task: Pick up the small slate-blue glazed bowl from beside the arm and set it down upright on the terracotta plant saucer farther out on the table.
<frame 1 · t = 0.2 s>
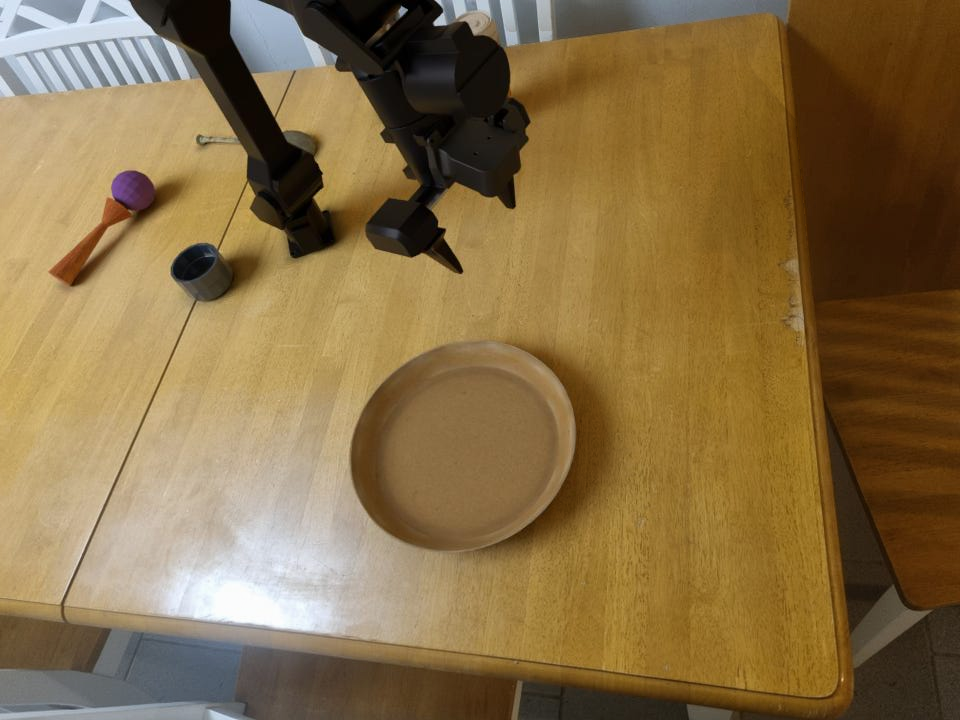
hand: (486, 239, 73), 15 cm above the table, tool pointing down, fingers open, 9 cm apart
wine glass: (403, 106, 112), on the table
bowl: (211, 283, 101), on the table
beer can: (495, 117, 106), on the table
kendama: (114, 238, 111), on the table
soupspoon: (256, 150, 115), on the table
plant saucer: (466, 451, 78), on the table
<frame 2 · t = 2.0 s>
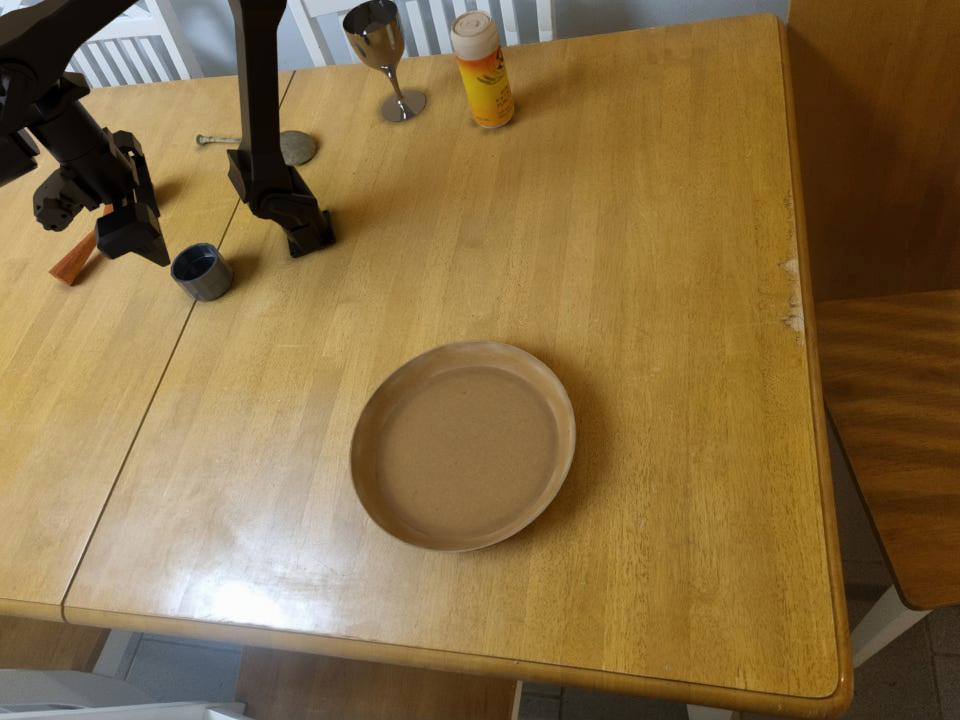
hand: (161, 240, 90), 11 cm above the table, tool pointing down, fingers open, 9 cm apart
nothing on the table moved.
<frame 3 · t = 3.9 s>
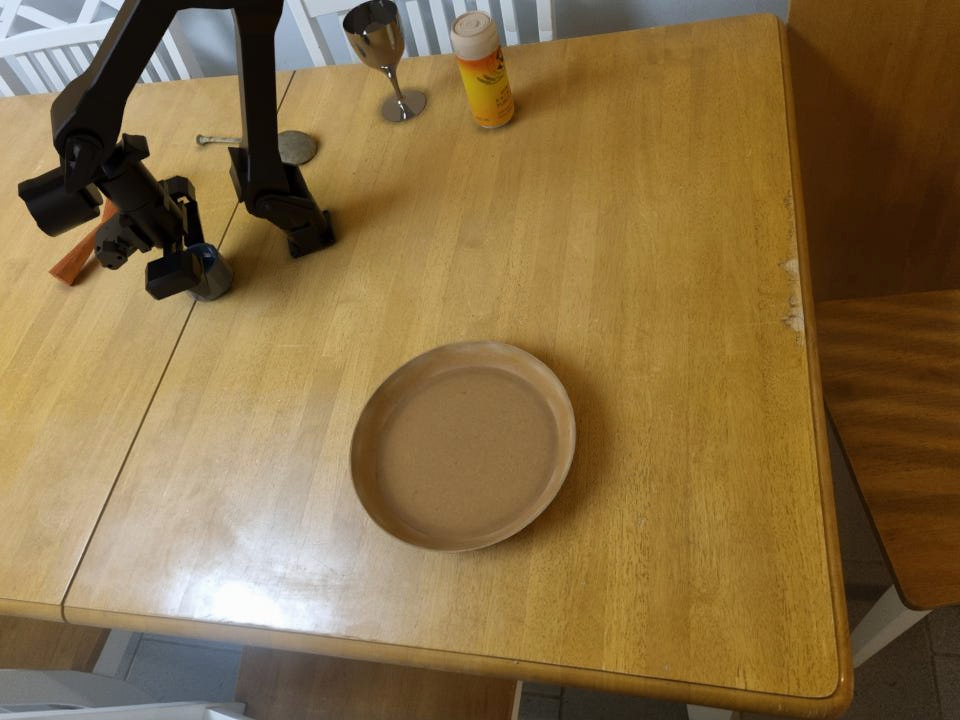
hand: (206, 276, 99), 2 cm above the table, tool pointing down, fingers closed on bowl, 7 cm apart
bowl: (211, 283, 101), on the table, touching gripper
everything else where it was.
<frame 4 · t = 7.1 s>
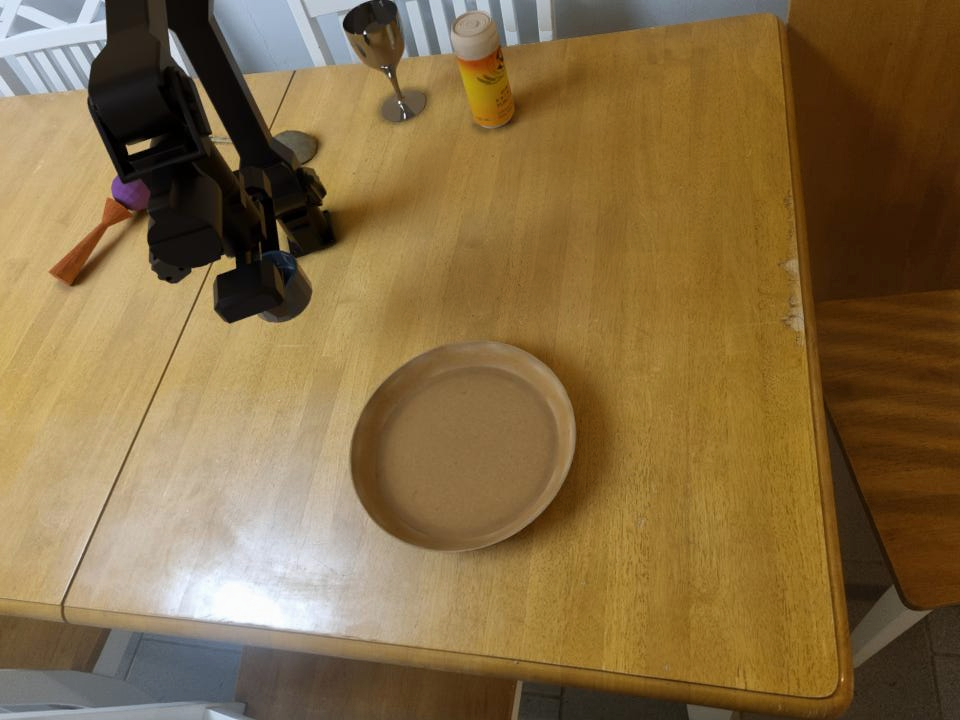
hand: (280, 291, 80), 12 cm above the table, tool pointing down, fingers closed on bowl, 7 cm apart
bowl: (285, 300, 82), point 10 cm above the table, touching gripper
everything else where it was.
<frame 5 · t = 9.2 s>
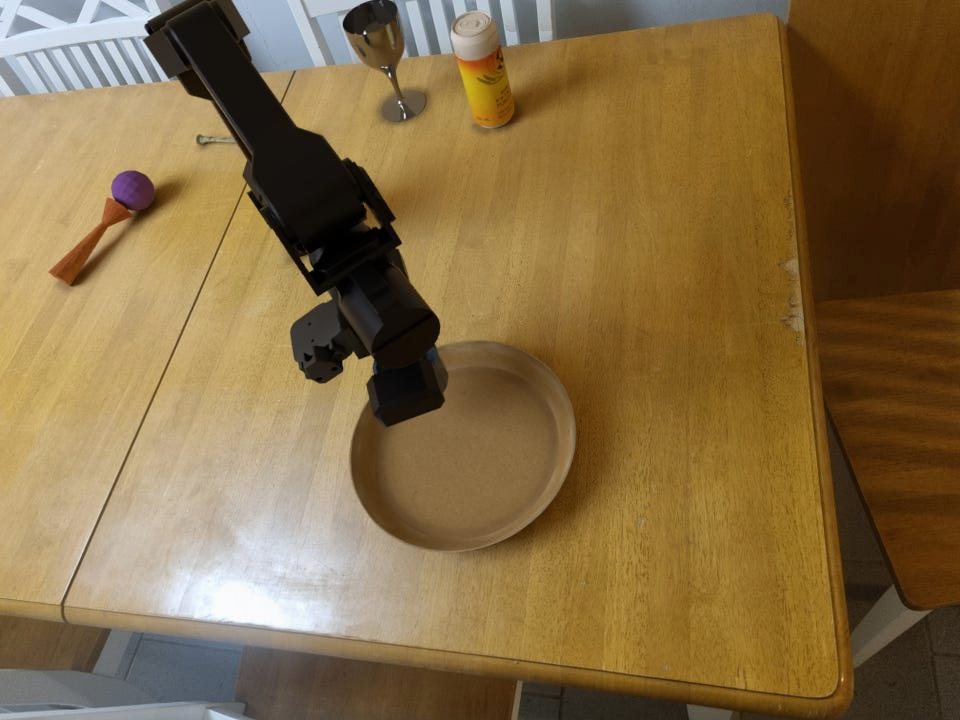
hand: (415, 376, 75), 8 cm above the table, tool pointing down, fingers closed on bowl, 7 cm apart
bowl: (418, 384, 77), point 6 cm above the table, touching gripper
everything else where it was.
when the fingers open (5 cm above the table, at t = 10.5 s): bowl stays where it is, resting on plant saucer.
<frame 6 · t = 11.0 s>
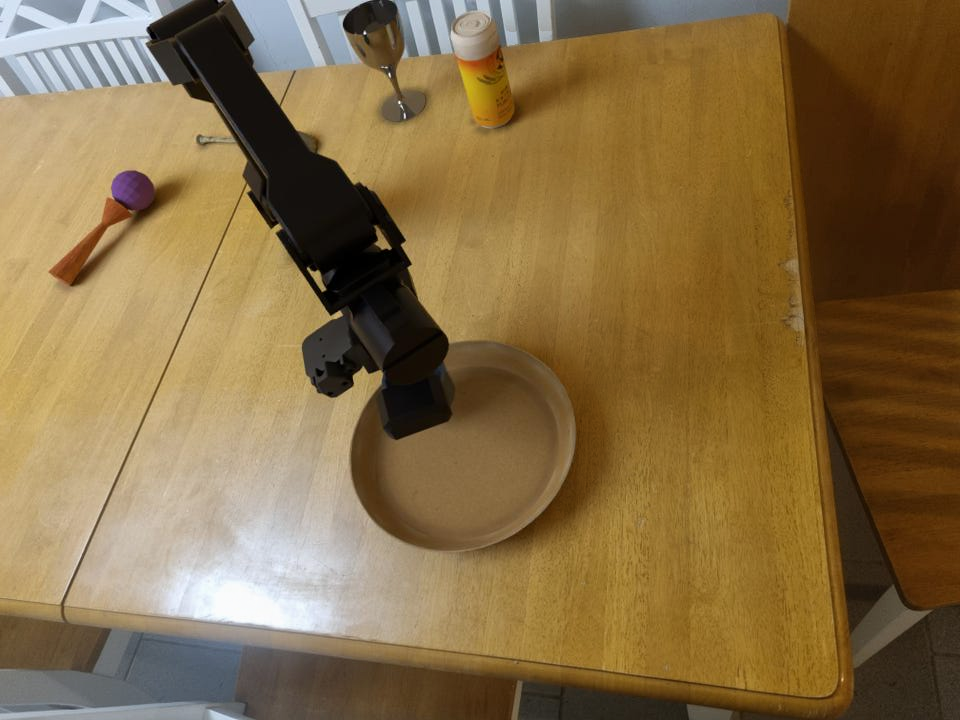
hand: (422, 388, 77), 5 cm above the table, tool pointing down, fingers open, 9 cm apart
bowl: (425, 397, 79), point 3 cm above the table, touching plant saucer
plant saucer: (466, 451, 78), on the table, touching bowl
everything else where it was.
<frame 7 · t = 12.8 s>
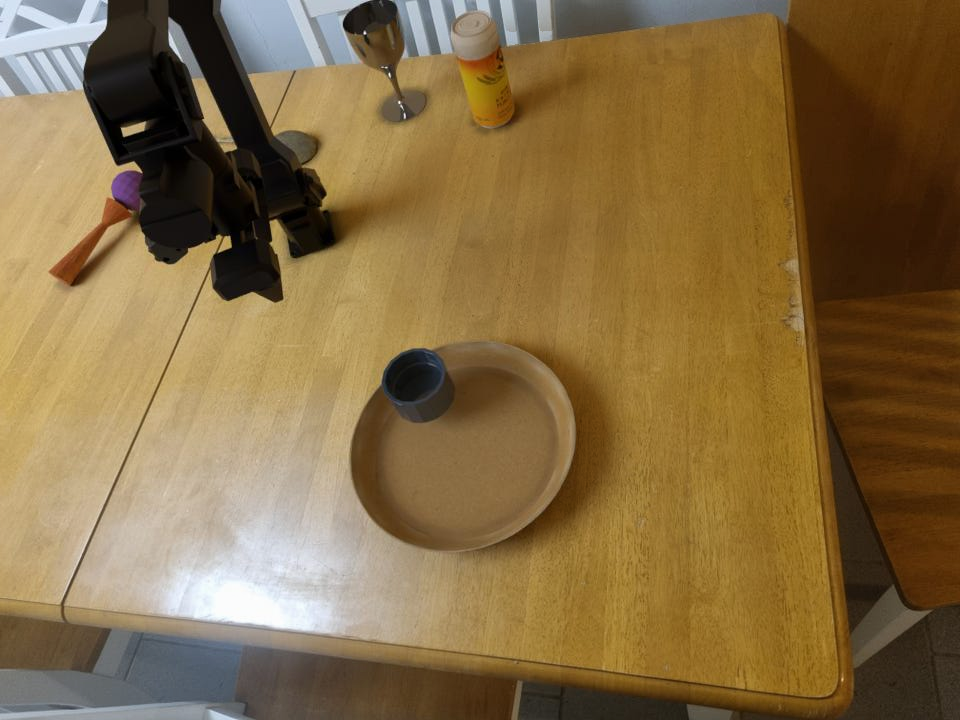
hand: (273, 270, 82), 12 cm above the table, tool pointing down, fingers open, 9 cm apart
nothing on the table moved.
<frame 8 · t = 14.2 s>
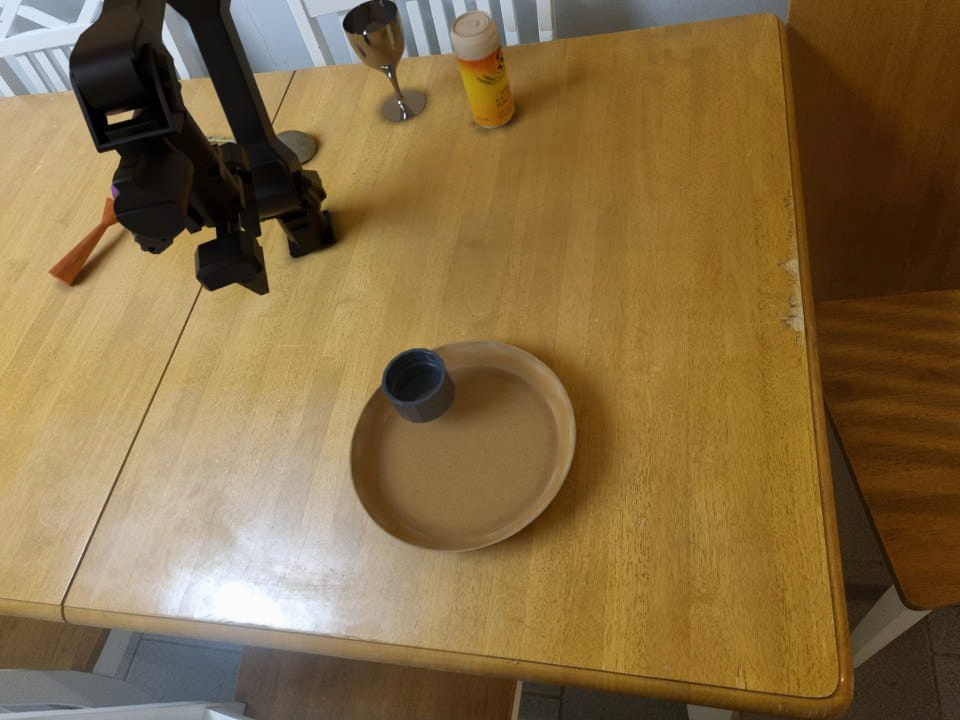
hand: (261, 263, 83), 12 cm above the table, tool pointing down, fingers open, 9 cm apart
nothing on the table moved.
at the end: bowl inside the target area on the plant saucer (2.8 cm from its centre), point 3.5 cm above the plant saucer's base; bowl tilted 0°; the gripper is holding nothing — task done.
